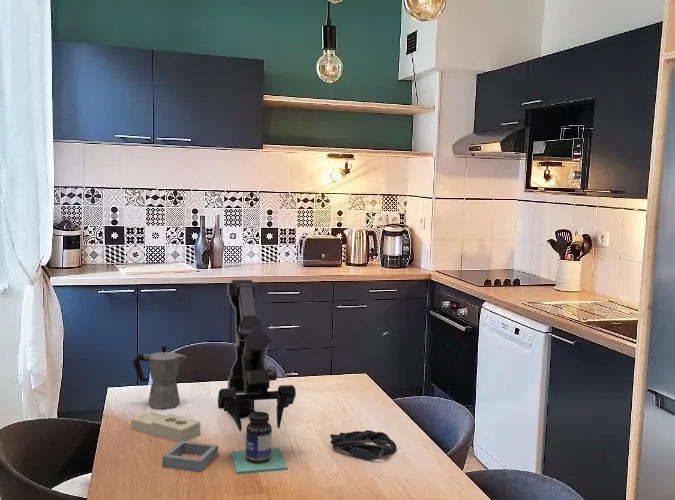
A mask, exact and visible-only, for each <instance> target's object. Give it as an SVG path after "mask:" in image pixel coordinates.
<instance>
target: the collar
mask: <svg viewBox="0 0 675 500" xmlns="http://www.w3.org/2000/svg"><path fill="white" fill-rule="evenodd" d="M183 454H190V455H191V454H193V455H198V456H199V455H200V457H199V458H198V457H188V456H182V455H183ZM218 456H219V444H214V443H213V444H212V443H203V442H194V441H190V440H188V441H180V442H177V443H176V444H175V445H174V446H173V447H172V448H171V449H169V450H168V451H167V452H165V454H163V455H162V457H161V459H162V460H161V461H162V462H161V463H162V464H161V466H162V467H164V468H172V469H178V470H179V469H180V470H185V471H195V472H202V471H204V470H205V468H207V467H208V466H209V465H210V464H211V463H212V461H214V460H215V459H216V458H217V457H218Z"/></svg>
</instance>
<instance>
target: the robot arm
mask: <svg viewBox="0 0 675 500" xmlns="http://www.w3.org/2000/svg"><path fill="white" fill-rule="evenodd" d="M226 285H227V286H226V287H227V288H226V294H227V295H226V296H229V297H228V299H229V303H230V305H231V306H232V307H233V309H234V319H235V321H234V323H235V324H234V325H235V329H234V330H235V331H234V332H235V361H234V363H233V365H232V367H231V369H230V374H229V375H228V381H227V387H225V388H220V390H219V391H218V395H217V409H220V410H222V409H223V411H224V412H227V414H229V415H230V416H231V418H232V419H233V421H234V423H235V425H236V427H237V429H238V430H239V432H241V431H242V420H241V419H244V418H247V417H249V416H250V414H251V413H254V412H258V411H257V410H255V401H264V400H266V401H267V400H276V403H277V404H276V409H275V410H276V425H277V429H280V428H281V423H282V419H283V414H284V409H286V408H288V407H289V406H290V405H293V404H294V401H295V399H296V398H295V397H296V396H297V395H296V394H297V391H296V388H295V386H294V385H293V384H285V385H283V384H282V385H278V388H277V390H272V391H269V389H270V382H271V381H272V382H273V381H276V380H277V379H278V374H277V373H278V372H277V366H269V367H267V369H266V363H265V359H266V358H267V357H266V356H267V353H268V348H269V345H270V344H271V337H270V336H269V335H268V334H267V332H266V330H264V325H263V322H262V321H260V320H259V319H258V316H257V308H256V302H255V299H256V298H255V297H256V296H258V282H253V279H231V281H230V283H227V284H226Z"/></svg>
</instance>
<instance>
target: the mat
mask: <svg viewBox="0 0 675 500" xmlns="http://www.w3.org/2000/svg"><path fill="white" fill-rule="evenodd" d="M230 454H231V458H232V462H233V466H234V470H235V473H236V474H238V475H239V474H250V473H260V472H262V473H263V472H273V471H283V470H284V471H285V470H287V471H288V468H289V467H288V465H287V463H286V461H285V458H284V456H283V454H282V452H281V449H280V448H279V447H271V458H270V460H269V461H267V462H264V463H252V462H249V461H247V459H246V449H243V450H241V449H240V450H231V451H230Z"/></svg>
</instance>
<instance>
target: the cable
mask: <svg viewBox="0 0 675 500" xmlns="http://www.w3.org/2000/svg"><path fill="white" fill-rule="evenodd" d="M329 436H330V439H331V440H330V444H331V445H332V447H333V448H334V449H335V448H338V449H340V450H342V451H343V452H345V453H348V454H349V455H350V456H352V457H353V458H357V459H361V460H365V461H372V460H379V459H380V457H387V456H390V455H393V454H395V453H396V451H397V444H396V442H395V441H393V439H391V438H390V436H389V435H388V434H387V433H385V432H382V431H373V430H363V431H362V430H361V431H360V430H357V431H356V430H355V431H351V432H349V431H348V432H339V434H332V433H331V434H330V435H329ZM366 440H370V441H372V442H374V443H375V445H374V444H369V443H365V442H362V441H366Z"/></svg>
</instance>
